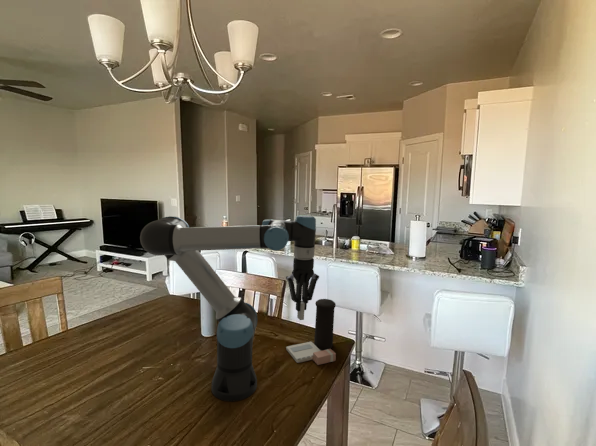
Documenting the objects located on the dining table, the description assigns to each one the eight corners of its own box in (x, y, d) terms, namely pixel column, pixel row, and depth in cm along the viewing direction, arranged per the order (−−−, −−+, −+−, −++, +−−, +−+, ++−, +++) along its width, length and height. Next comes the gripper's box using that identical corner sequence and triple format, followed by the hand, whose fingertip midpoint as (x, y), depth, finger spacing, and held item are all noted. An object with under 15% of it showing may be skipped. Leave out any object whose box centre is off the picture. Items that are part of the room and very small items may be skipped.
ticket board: (297, 363, 125) (297, 359, 125) (286, 349, 135) (286, 346, 135) (323, 356, 130) (324, 353, 130) (311, 344, 140) (311, 341, 140)
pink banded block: (317, 365, 124) (318, 357, 123) (312, 359, 127) (313, 352, 127) (335, 360, 127) (335, 353, 127) (330, 355, 131) (330, 348, 130)
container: (333, 340, 143) (335, 297, 141) (333, 351, 135) (336, 305, 132) (314, 339, 144) (315, 296, 142) (312, 349, 135) (315, 304, 133)
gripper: (291, 261, 112) (288, 325, 115) (324, 259, 117) (320, 320, 120) (283, 256, 119) (280, 316, 122) (314, 254, 124) (311, 312, 127)
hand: (300, 318), depth 121 cm, fingers closed
